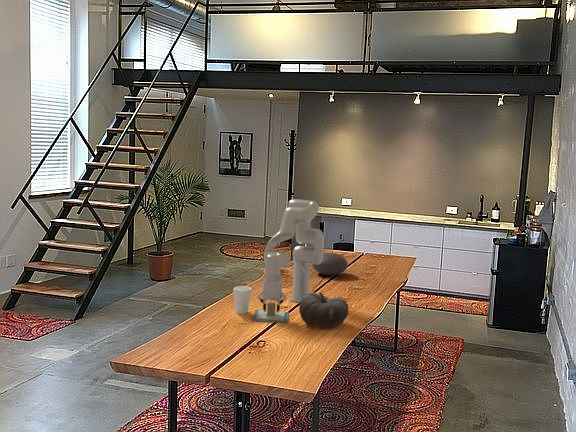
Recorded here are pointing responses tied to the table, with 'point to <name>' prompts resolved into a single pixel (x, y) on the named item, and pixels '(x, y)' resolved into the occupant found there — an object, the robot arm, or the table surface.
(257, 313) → the mat
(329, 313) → the gourd
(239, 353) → the table surface
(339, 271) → the smooth stone
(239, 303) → the foam cup
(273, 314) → the lid
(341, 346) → the table surface
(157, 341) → the table surface
